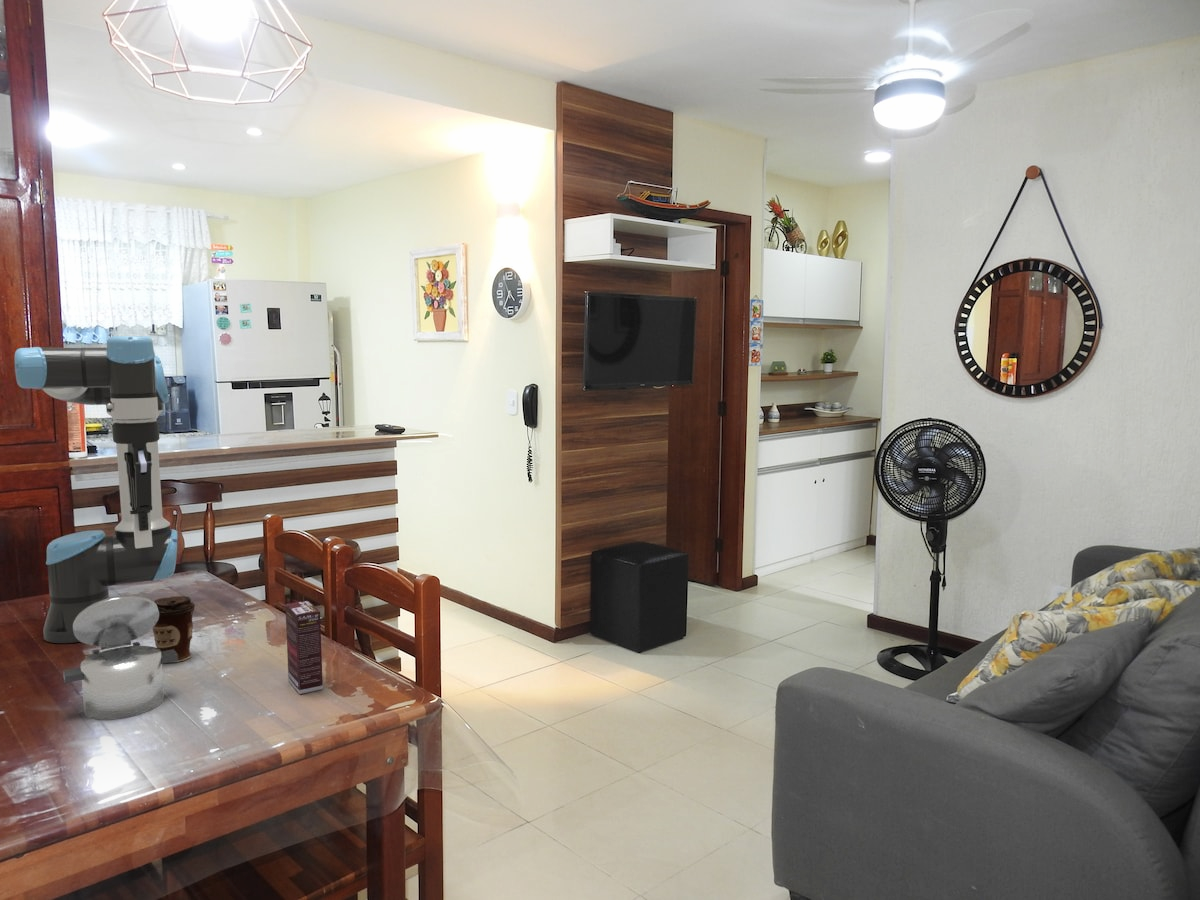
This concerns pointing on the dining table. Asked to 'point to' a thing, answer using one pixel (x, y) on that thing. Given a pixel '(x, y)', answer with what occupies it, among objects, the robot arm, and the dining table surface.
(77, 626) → the lid
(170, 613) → the coffee cup
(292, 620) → the supplement box
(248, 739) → the dining table surface
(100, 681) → the pot
